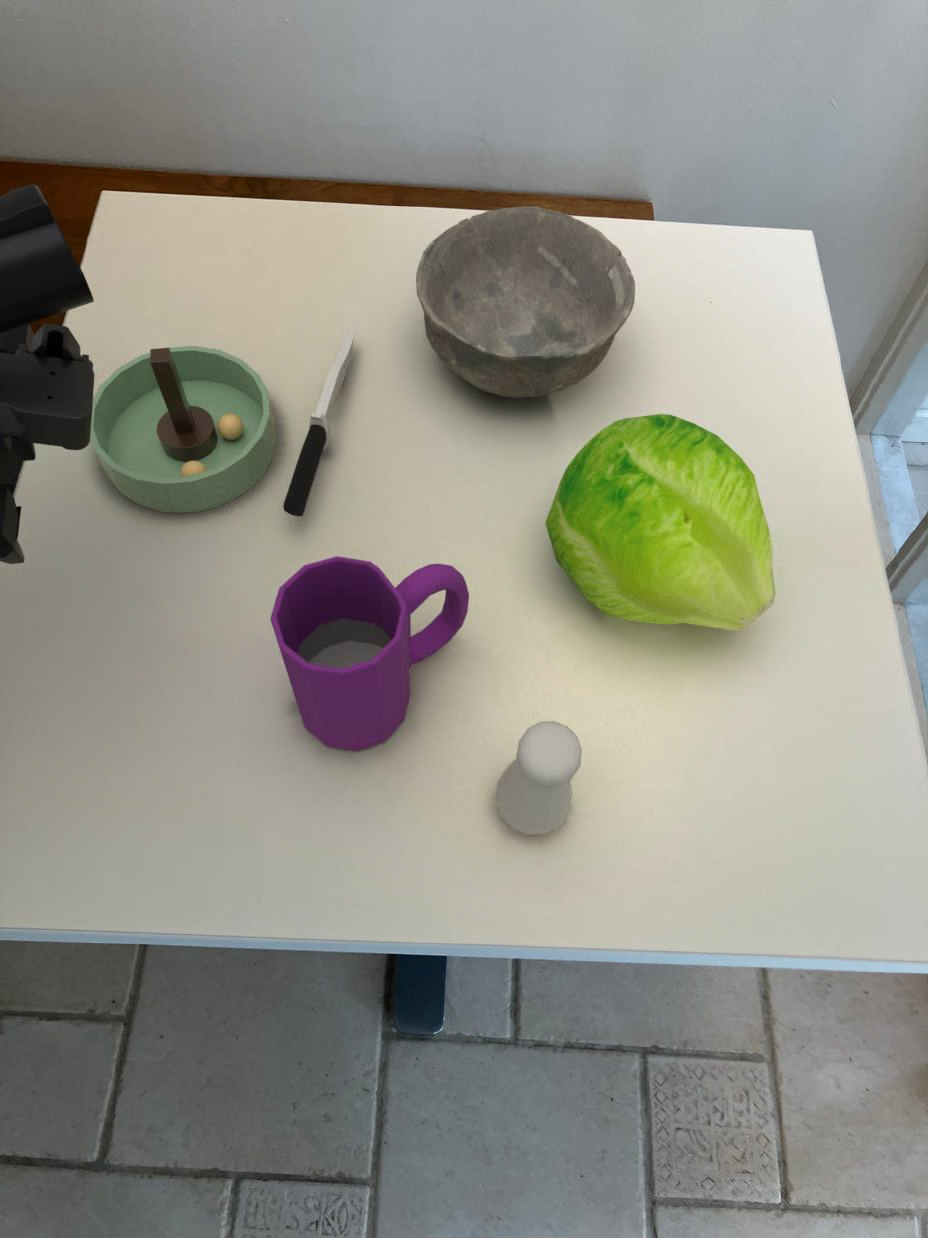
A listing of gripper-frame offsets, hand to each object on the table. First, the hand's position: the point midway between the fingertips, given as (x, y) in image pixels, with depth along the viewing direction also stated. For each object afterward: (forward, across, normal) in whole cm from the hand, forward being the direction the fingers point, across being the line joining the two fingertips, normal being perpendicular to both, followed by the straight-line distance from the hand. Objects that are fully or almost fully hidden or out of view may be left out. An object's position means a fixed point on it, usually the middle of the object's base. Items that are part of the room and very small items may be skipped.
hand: (23, 508), depth 65 cm
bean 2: (+11, +16, -12) cm, 23 cm away
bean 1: (+12, +12, -9) cm, 19 cm away
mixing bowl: (+13, +16, -9) cm, 22 cm away
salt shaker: (+13, -23, -35) cm, 44 cm away
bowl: (+13, +24, -42) cm, 50 cm away
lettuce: (+13, -4, -49) cm, 51 cm away
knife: (+13, +16, -22) cm, 30 cm away
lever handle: (+12, +16, -9) cm, 22 cm away
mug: (+13, -11, -25) cm, 30 cm away
